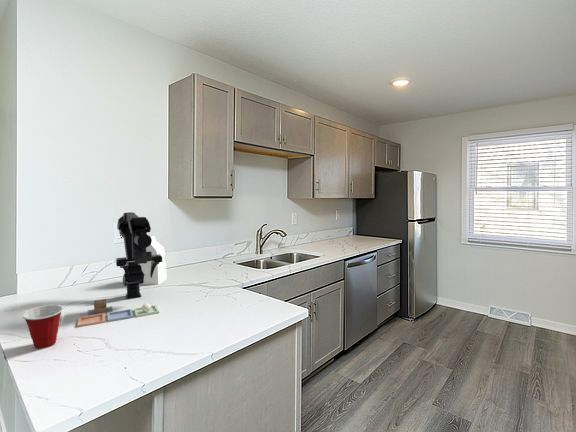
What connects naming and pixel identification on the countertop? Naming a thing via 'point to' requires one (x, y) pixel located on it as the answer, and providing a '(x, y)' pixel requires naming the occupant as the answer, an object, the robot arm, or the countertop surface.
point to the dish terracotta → (91, 320)
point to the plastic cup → (43, 324)
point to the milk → (160, 268)
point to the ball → (146, 307)
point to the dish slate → (120, 315)
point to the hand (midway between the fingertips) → (140, 278)
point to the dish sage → (140, 312)
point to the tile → (91, 312)
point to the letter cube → (100, 306)
